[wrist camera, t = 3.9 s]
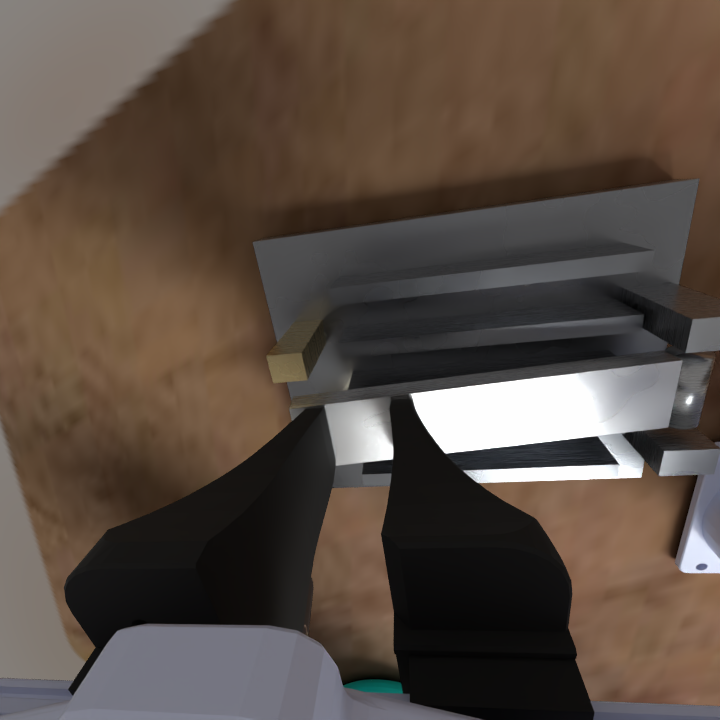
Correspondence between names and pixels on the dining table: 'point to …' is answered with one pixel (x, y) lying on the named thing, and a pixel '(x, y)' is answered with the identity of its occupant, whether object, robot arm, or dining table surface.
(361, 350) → the heatsink
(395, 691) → the donuts
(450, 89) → the dining table surface
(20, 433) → the dining table surface
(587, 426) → the silver flat bar
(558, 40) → the dining table surface
